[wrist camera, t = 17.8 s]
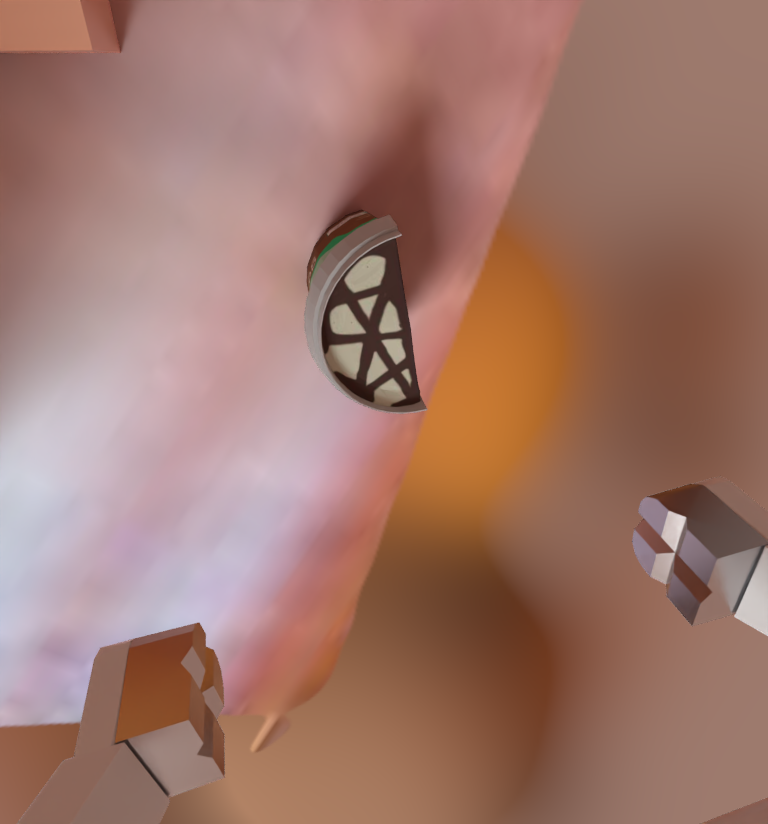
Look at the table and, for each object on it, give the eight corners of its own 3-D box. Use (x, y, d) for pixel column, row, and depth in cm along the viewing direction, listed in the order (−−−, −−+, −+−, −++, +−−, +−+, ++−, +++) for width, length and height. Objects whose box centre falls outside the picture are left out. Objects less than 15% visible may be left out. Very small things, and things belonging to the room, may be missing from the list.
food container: (267, 208, 35) (282, 252, 27) (358, 186, 36) (400, 223, 28) (312, 369, 42) (335, 443, 34) (388, 349, 43) (428, 416, 35)
